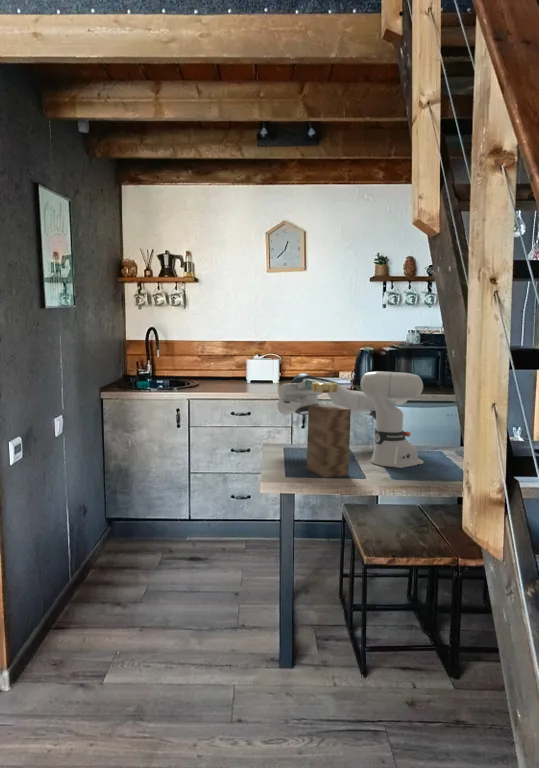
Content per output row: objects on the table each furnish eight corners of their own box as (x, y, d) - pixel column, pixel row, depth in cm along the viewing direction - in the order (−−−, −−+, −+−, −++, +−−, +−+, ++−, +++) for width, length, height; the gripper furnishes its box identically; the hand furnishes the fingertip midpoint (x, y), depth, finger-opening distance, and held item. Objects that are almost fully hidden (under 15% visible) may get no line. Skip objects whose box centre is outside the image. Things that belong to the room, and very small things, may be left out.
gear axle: (316, 385, 241) (317, 378, 240) (342, 392, 221) (343, 384, 221) (294, 386, 236) (295, 379, 236) (319, 393, 217) (319, 385, 217)
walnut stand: (330, 466, 233) (332, 403, 230) (348, 475, 220) (350, 409, 218) (306, 468, 229) (308, 404, 226) (323, 477, 216) (325, 410, 213)
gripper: (319, 400, 250) (333, 388, 238) (277, 402, 241) (289, 389, 230) (316, 387, 252) (330, 374, 240) (274, 389, 244) (286, 375, 232)
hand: (310, 382), depth 235 cm, fingers closed on gear axle, 3 cm apart
